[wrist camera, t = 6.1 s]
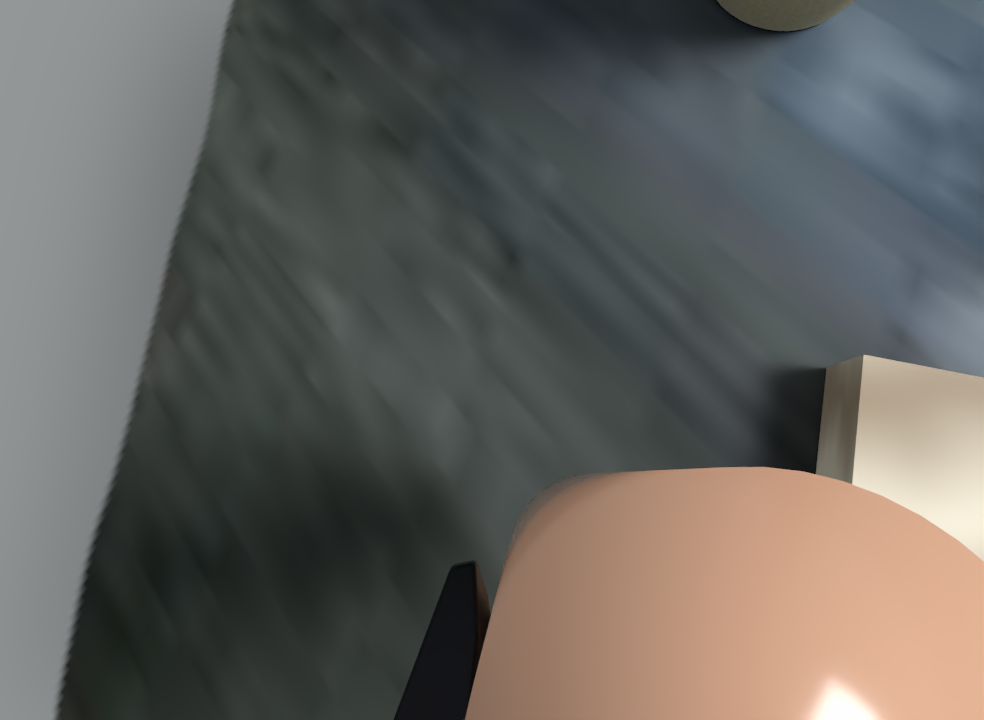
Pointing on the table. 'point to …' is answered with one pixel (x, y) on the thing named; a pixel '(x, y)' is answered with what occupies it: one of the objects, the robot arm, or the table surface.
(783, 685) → the peach capsule
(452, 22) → the table surface
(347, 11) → the table surface
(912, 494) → the birch base plate
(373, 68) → the table surface
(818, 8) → the plant pot
